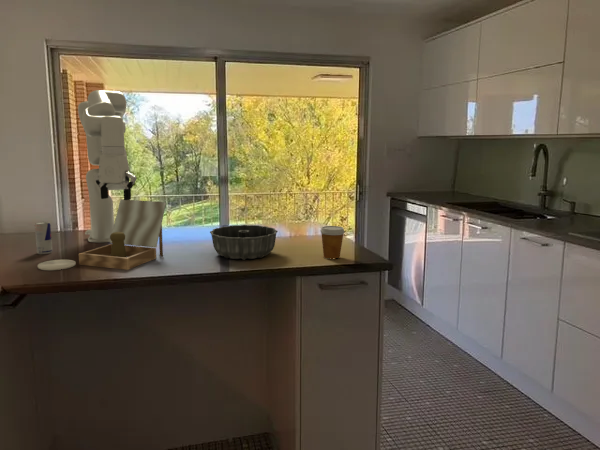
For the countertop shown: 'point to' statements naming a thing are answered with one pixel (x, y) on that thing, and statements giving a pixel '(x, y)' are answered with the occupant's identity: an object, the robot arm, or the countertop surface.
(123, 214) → the cold frame
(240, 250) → the bundt pan
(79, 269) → the countertop surface
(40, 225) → the energy drink
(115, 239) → the cork
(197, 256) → the countertop surface
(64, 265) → the saucer
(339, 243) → the disposable coffee cup
